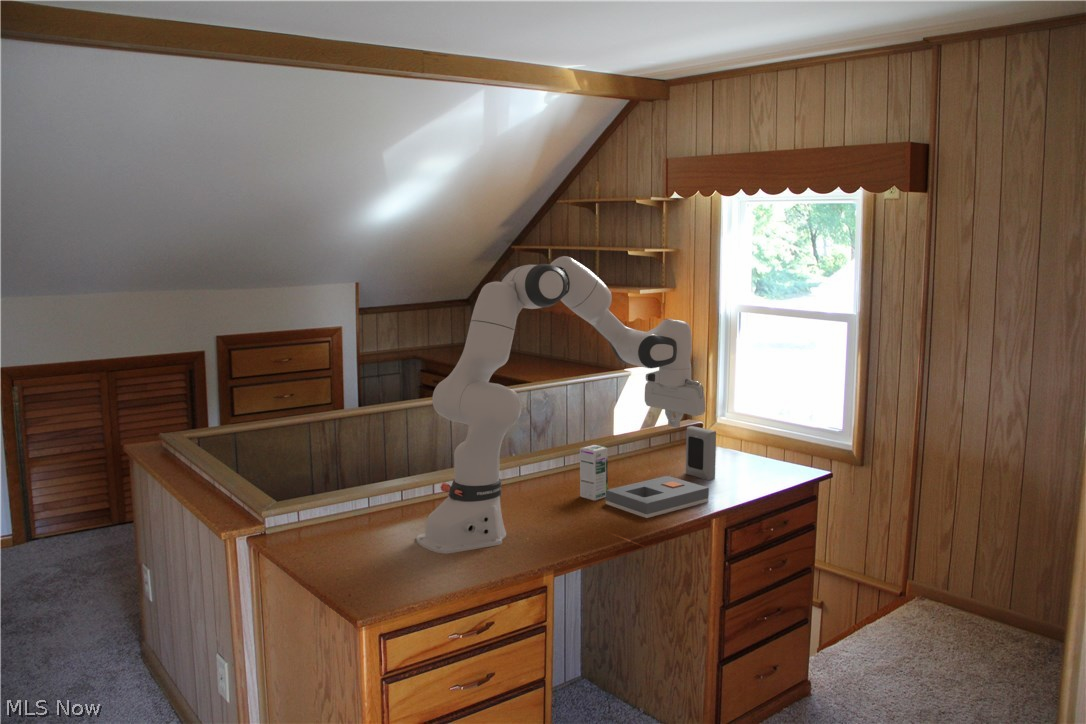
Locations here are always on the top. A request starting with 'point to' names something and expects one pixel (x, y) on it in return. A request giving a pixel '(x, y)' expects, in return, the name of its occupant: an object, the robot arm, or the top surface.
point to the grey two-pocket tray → (656, 496)
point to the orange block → (672, 484)
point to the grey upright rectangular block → (700, 452)
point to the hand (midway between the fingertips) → (673, 426)
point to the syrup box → (593, 472)
